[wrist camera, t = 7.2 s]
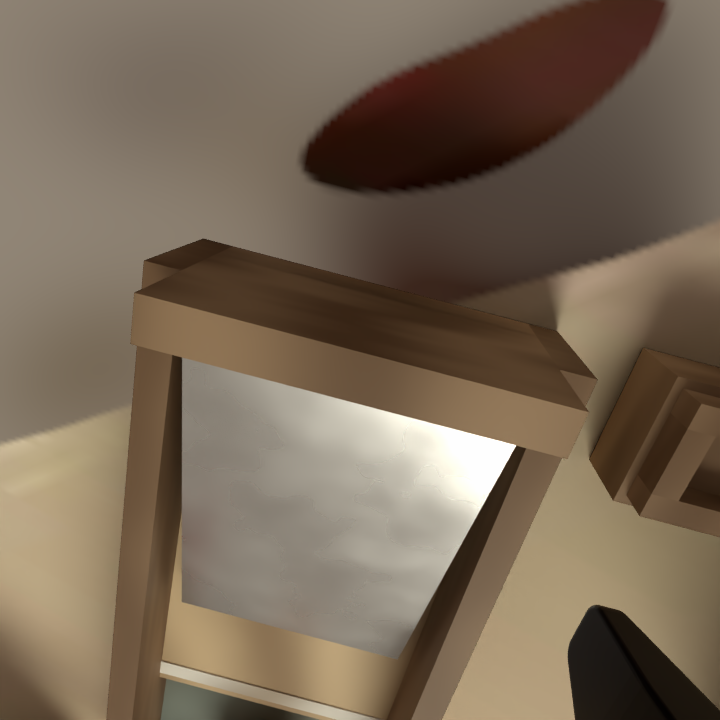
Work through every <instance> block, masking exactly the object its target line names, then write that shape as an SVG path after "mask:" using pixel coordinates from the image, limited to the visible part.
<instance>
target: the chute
mask: <svg viewBox="0 0 720 720" xmlns="http://www.w3.org/2000/svg"><path fill="white" fill-rule="evenodd" d="M515 446H516V445H512V444H508V443H504V442H501V441H497V440H493V439H489V438H486V437H482V436H478V435H474V434H470V433H467V432H463V431H459V430H455V429H451V428H448V427H444V426H440V425H436V424H432V423H429V422H425V421H421V420H417V419H413V418H410V417H406V416H402V415H398V414H394V413H391V412H387V411H383V410H379V409H375V408H372V407H368V406H364V405H360V404H357V403H353V402H349V401H345V400H341V399H338V398H334V397H330V396H326V395H322V394H319V393H315V392H311V391H307V390H303V389H300V388H296V387H292V386H288V385H284V384H281V383H277V382H273V381H269V380H265V379H262V378H258V377H254V376H250V375H246V374H243V373H239V372H235V371H231V370H228V369H224V368H220V367H216V366H212V365H209V364H205V363H201V362H197V361H193V360H190V359H186V358H182V602H183V603H187V604H191V605H195V606H198V607H202V608H206V609H210V610H213V611H217V612H221V613H225V614H228V615H232V616H236V617H240V618H243V619H247V620H251V621H255V622H258V623H262V624H266V625H270V626H273V627H277V628H281V629H285V630H288V631H292V632H296V633H300V634H304V635H307V636H311V637H315V638H319V639H322V640H326V641H330V642H334V643H337V644H341V645H345V646H349V647H352V648H356V649H360V650H364V651H367V652H371V653H375V654H379V655H382V656H386V657H390V658H394V659H397V660H398V658H399V656H400V654H401V652H402V651H403V649H404V647H405V645H406V643H407V642H408V640H409V638H410V636H411V634H412V633H413V631H414V629H415V627H416V625H417V624H418V622H419V620H420V618H421V616H422V614H423V613H424V611H425V609H426V607H427V605H428V604H429V602H430V600H431V598H432V596H433V595H434V593H435V591H436V589H437V587H438V585H439V584H440V582H441V580H442V578H443V576H444V575H445V573H446V571H447V569H448V567H449V566H450V564H451V562H452V560H453V558H454V557H455V555H456V553H457V551H458V549H459V547H460V546H461V544H462V542H463V540H464V538H465V537H466V535H467V533H468V531H469V529H470V528H471V526H472V524H473V522H474V520H475V519H476V517H477V515H478V513H479V511H480V509H481V508H482V506H483V504H484V502H485V500H486V499H487V497H488V495H489V493H490V491H491V490H492V488H493V486H494V484H495V482H496V481H497V479H498V477H499V475H500V473H501V471H502V470H503V468H504V466H505V464H506V462H507V461H508V459H509V457H510V455H511V453H512V452H513V450H514V448H515Z"/></svg>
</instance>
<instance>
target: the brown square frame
mask: <svg viewBox="0 0 720 720" xmlns="http://www.w3.org/2000/svg"><path fill="white" fill-rule="evenodd" d="M589 460H590V462H591V463H592V465H593V467H594V469H595V470H596V472H597V474H598V475H599V477H600V479H601V481H602V482H603V484H604V486H605V487H606V489H607V491H608V493H609V494H610V496H611V498H612V500H613V501H616V502H620V503H624V504H628V505H631V506H633V507H634V508H635V510H636V511H637V513H638V514H639V516H642V517H645V518H649V519H653V520H657V521H660V522H664V523H668V524H672V525H676V526H679V527H683V528H687V529H691V530H695V531H698V532H702V533H706V534H710V535H713V536H717V537H720V368H718V367H715V366H711V365H707V364H703V363H699V362H695V361H692V360H688V359H684V358H680V357H676V356H673V355H669V354H665V353H661V352H657V351H654V350H650V349H646V348H643V349H642V351H641V354H640V356H639V358H638V360H637V362H636V364H635V366H634V368H633V370H632V372H631V374H630V376H629V378H628V380H627V383H626V385H625V387H624V389H623V391H622V393H621V395H620V397H619V399H618V401H617V403H616V405H615V407H614V409H613V411H612V414H611V416H610V418H609V420H608V422H607V424H606V426H605V428H604V430H603V432H602V434H601V436H600V438H599V440H598V443H597V445H596V447H595V449H594V451H593V453H592V455H591V457H590V459H589Z"/></svg>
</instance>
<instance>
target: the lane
mask: <svg viewBox="0 0 720 720" xmlns="http://www.w3.org/2000/svg"><path fill="white" fill-rule="evenodd" d="M143 266H144V267H143V278H142V289H141V290H139V291H137V292H135V293H134V303H133V317H132V329H131V344H133V345H136V346H137V352H136V365H135V376H134V389H133V401H132V413H131V425H130V438H129V450H128V462H127V474H126V487H125V499H124V511H123V524H122V536H121V548H120V561H119V573H118V585H117V597H116V610H115V622H114V634H113V647H112V659H111V671H110V683H109V696H108V708H107V720H442V718H443V716H444V714H445V711H446V709H447V707H448V705H449V703H450V701H451V698H452V696H453V694H454V692H455V690H456V688H457V685H458V683H459V681H460V679H461V677H462V674H463V672H464V670H465V668H466V666H467V664H468V661H469V659H470V657H471V655H472V653H473V650H474V648H475V646H476V644H477V642H478V640H479V637H480V635H481V633H482V631H483V629H484V626H485V624H486V622H487V620H488V618H489V616H490V613H491V611H492V609H493V607H494V605H495V602H496V600H497V598H498V596H499V594H500V592H501V589H502V587H503V585H504V583H505V581H506V579H507V576H508V574H509V572H510V570H511V568H512V565H513V563H514V561H515V559H516V557H517V555H518V552H519V550H520V548H521V546H522V544H523V541H524V539H525V537H526V535H527V533H528V531H529V528H530V526H531V524H532V522H533V520H534V517H535V515H536V513H537V511H538V509H539V507H540V504H541V502H542V500H543V498H544V496H545V493H546V491H547V489H548V487H549V485H550V483H551V480H552V478H553V476H554V474H555V472H556V470H557V467H558V465H559V463H560V461H561V459H562V458H565V459H568V457H569V454H570V452H571V450H572V448H573V446H574V444H575V442H576V439H577V437H578V435H579V433H580V431H581V429H582V426H583V424H584V422H585V420H586V418H587V416H588V414H589V411H588V410H587V409H586V407H585V406H586V404H587V402H588V400H589V398H590V395H591V393H592V391H593V389H594V387H595V384H596V382H597V378H596V377H595V376H594V375H593V374H592V372H591V371H590V370H589V369H588V368H587V366H586V365H585V364H584V363H583V362H582V360H581V359H580V358H579V357H578V356H577V354H576V353H575V352H574V351H573V350H572V348H571V347H570V346H569V345H568V344H567V342H566V341H565V340H564V339H563V338H562V336H561V335H560V334H559V333H558V332H557V331H553V330H550V329H546V328H542V327H538V326H534V325H531V324H527V323H523V322H519V321H515V320H512V319H508V318H504V317H500V316H496V315H492V314H489V313H485V312H481V311H477V310H473V309H470V308H466V307H462V306H458V305H454V304H451V303H447V302H443V301H439V300H435V299H431V298H428V297H424V296H420V295H416V294H412V293H409V292H405V291H401V290H397V289H393V288H390V287H385V286H382V285H378V284H374V283H370V282H366V281H363V280H358V279H355V278H351V277H348V276H344V275H340V274H336V273H332V272H329V271H325V270H321V269H317V268H313V267H310V266H306V265H302V264H298V263H294V262H290V261H287V260H283V259H279V258H275V257H271V256H267V255H264V254H260V253H256V252H252V251H249V250H245V249H241V248H237V247H233V246H229V245H226V244H222V243H218V242H214V241H210V240H207V239H201V240H198V241H196V242H193V243H190V244H187V245H185V246H182V247H180V248H177V249H174V250H171V251H169V252H166V253H163V254H160V255H158V256H155V257H152V258H149V259H147V260H144V265H143ZM182 358H186V359H190V360H193V361H197V362H201V363H205V364H209V365H212V366H216V367H220V368H224V369H228V370H231V371H235V372H239V373H243V374H246V375H250V376H254V377H258V378H262V379H265V380H269V381H273V382H277V383H281V384H284V385H288V386H292V387H296V388H300V389H303V390H307V391H311V392H315V393H319V394H322V395H326V396H330V397H334V398H338V399H341V400H345V401H349V402H353V403H357V404H360V405H364V406H368V407H372V408H375V409H379V410H383V411H387V412H391V413H394V414H398V415H402V416H406V417H410V418H413V419H417V420H421V421H425V422H429V423H432V424H436V425H440V426H444V427H448V428H451V429H455V430H459V431H463V432H467V433H470V434H474V435H478V436H482V437H486V438H489V439H493V440H497V441H501V442H504V443H508V444H512V445H516V446H515V448H514V450H513V452H512V453H511V455H510V457H509V459H508V461H507V462H506V464H505V466H504V468H503V470H502V471H501V473H500V475H499V477H498V479H497V481H496V482H495V484H494V486H493V488H492V490H491V491H490V493H489V495H488V497H487V499H486V500H485V502H484V504H483V506H482V508H481V509H480V511H479V513H478V515H477V517H476V519H475V520H474V522H473V524H472V526H471V528H470V529H469V531H468V533H467V535H466V537H465V538H464V540H463V542H462V544H461V546H460V547H459V549H458V551H457V553H456V555H455V557H454V558H453V560H452V562H451V564H450V566H449V567H448V569H447V571H446V573H445V575H444V576H443V578H442V580H441V582H440V584H439V585H438V587H437V589H436V591H435V593H434V595H433V596H432V598H431V600H430V602H429V604H428V605H427V607H426V609H425V611H424V613H423V614H422V616H421V618H420V620H419V622H418V624H417V625H416V627H415V629H414V631H413V633H412V634H411V636H410V638H409V640H408V642H407V643H406V645H405V647H404V649H403V651H402V652H401V654H400V656H399V658H398V660H397V659H394V658H390V657H386V656H382V655H379V654H375V653H371V652H367V651H364V650H360V649H356V648H352V647H349V646H345V645H341V644H337V643H334V642H330V641H326V640H322V639H319V638H315V637H311V636H307V635H304V634H300V633H296V632H292V631H288V630H285V629H281V628H277V627H273V626H270V625H266V624H262V623H258V622H255V621H251V620H247V619H243V618H240V617H236V616H232V615H228V614H225V613H221V612H217V611H213V610H210V609H206V608H202V607H198V606H195V605H191V604H187V603H183V602H182Z"/></svg>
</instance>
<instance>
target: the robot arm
mask: <svg viewBox="0 0 720 720" xmlns="http://www.w3.org/2000/svg"><path fill="white" fill-rule="evenodd" d="M568 665H569V673H570V681H571V689H572V698H573V706H574V714H575V720H720V710H719V709H718V708H717V707H716V706H715V705H714V704H713V703H712V702H711V701H710V700H709V699H708V698H707V697H706V696H705V695H704V694H703V693H702V692H701V691H700V690H699V689H698V688H697V687H696V686H695V685H694V684H693V683H692V682H691V681H690V680H689V679H688V678H687V677H686V676H685V675H684V673H683V672H682V671H681V670H680V669H679V668H678V667H677V666H676V665H675V664H674V663H673V662H672V661H671V660H670V659H669V658H668V657H667V656H666V655H665V654H664V653H663V652H662V651H661V650H660V649H659V648H658V647H657V646H656V645H655V644H654V643H653V642H652V641H651V640H650V639H649V638H648V637H647V636H646V635H645V634H644V633H643V632H642V631H641V630H640V629H639V628H638V627H637V626H636V625H635V624H634V623H633V622H632V621H631V620H630V619H629V618H628V616H626V615H625V614H624V613H623V612H621V611H619V610H616V609H612V608H608V607H604V606H600V605H593V606H591V607H590V608H589V609H588V610H587V612H586V614H585V616H584V617H583V619H582V621H581V623H580V625H579V626H578V628H577V630H576V632H575V634H574V635H573V637H572V639H571V641H570V644H569V648H568Z"/></svg>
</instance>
